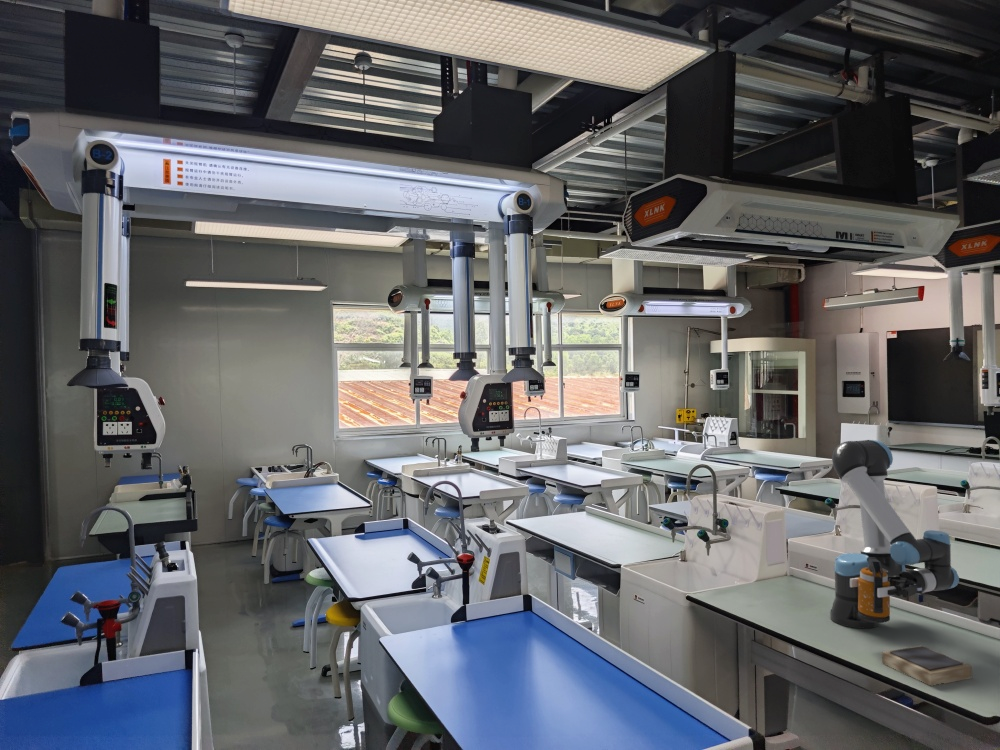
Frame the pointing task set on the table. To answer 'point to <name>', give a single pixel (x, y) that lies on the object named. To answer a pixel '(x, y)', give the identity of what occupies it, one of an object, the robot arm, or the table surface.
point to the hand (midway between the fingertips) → (864, 587)
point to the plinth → (927, 665)
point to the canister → (873, 593)
